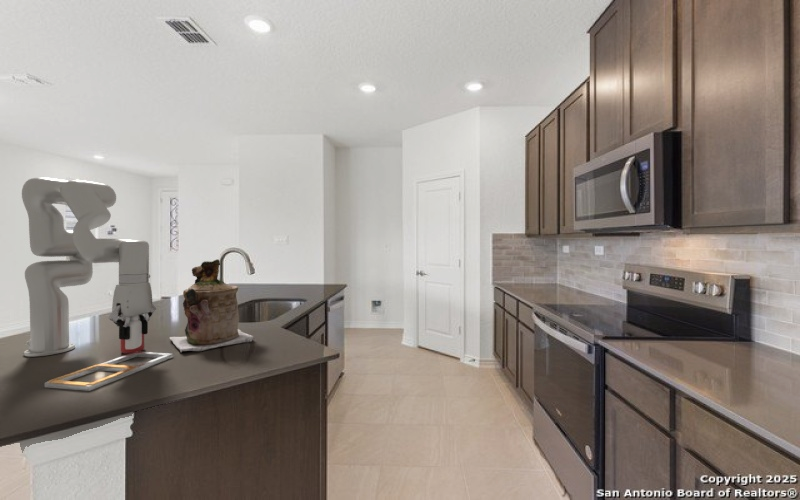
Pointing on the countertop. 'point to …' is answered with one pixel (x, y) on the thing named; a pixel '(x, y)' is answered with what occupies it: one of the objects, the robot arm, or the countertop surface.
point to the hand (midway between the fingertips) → (133, 335)
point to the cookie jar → (210, 312)
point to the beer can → (128, 351)
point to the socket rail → (106, 366)
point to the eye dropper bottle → (134, 333)
